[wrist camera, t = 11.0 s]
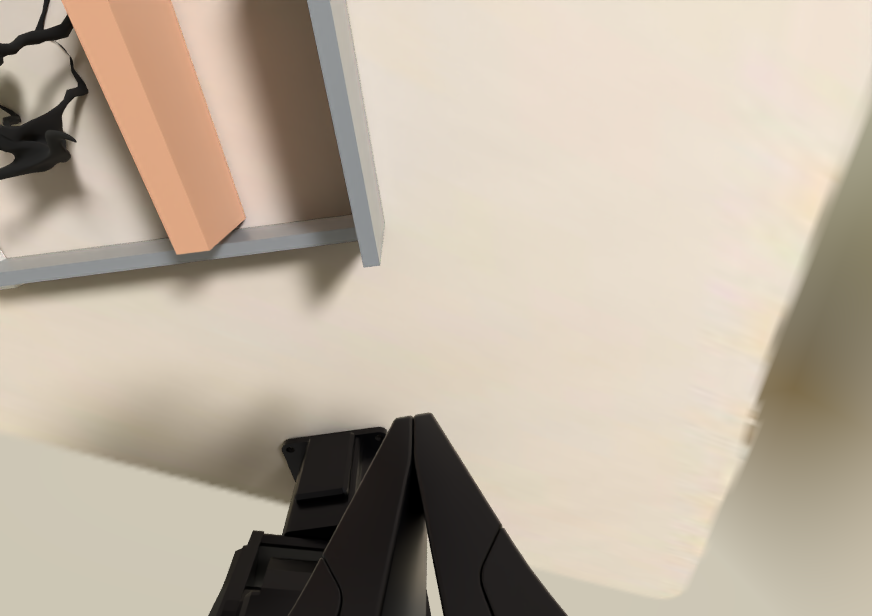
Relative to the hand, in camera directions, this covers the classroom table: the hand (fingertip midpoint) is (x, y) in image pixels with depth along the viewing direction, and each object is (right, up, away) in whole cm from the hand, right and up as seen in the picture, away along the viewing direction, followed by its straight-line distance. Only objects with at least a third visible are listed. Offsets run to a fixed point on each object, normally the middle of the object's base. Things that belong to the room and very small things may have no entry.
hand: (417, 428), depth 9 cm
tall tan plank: (-9, +11, +7) cm, 16 cm away
